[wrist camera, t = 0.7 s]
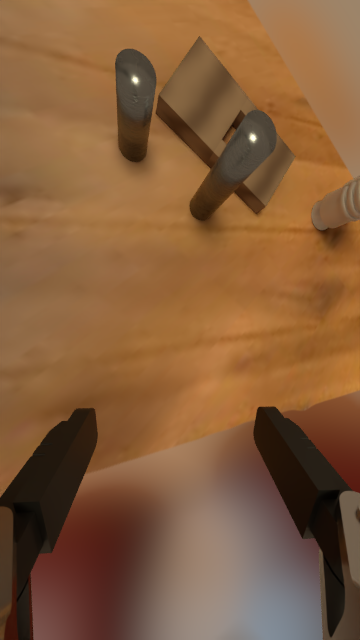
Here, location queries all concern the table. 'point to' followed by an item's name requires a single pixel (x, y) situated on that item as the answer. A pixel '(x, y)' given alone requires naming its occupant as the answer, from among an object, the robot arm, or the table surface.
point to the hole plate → (217, 119)
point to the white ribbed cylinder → (338, 206)
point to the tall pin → (235, 163)
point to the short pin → (134, 102)
